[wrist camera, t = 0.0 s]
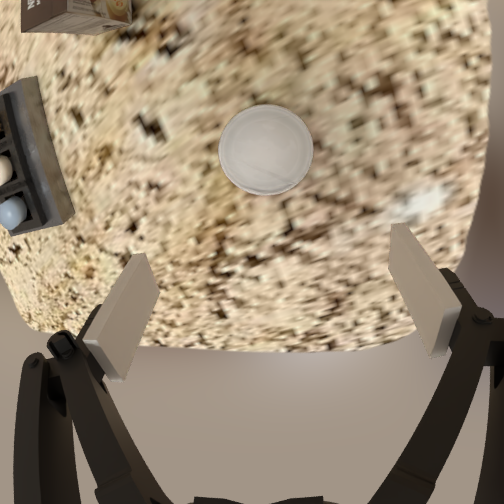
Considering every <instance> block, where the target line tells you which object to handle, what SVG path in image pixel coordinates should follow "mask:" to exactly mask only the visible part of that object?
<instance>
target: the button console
mask: <svg viewBox="0 0 504 504" xmlns="http://www.w3.org/2000/svg"><path fill="white" fill-rule="evenodd" d="M0 116H1V120H2V124H3V128H4V132H5V136H6V137H4V138H3V139H1V140H0V155H1V153H3V152H4V151H6V150H8V149H9V151H10V154H11V157H12V161H13V164H14V167H15V170H16V173H17V176H18V177H17V178H15V179H12V180H10V181H7V182H6V183H4V184H3V185H1V186H0V205H1V204H2V203H4V202H5V201H6V200H8V199H9V198H11V197H12V196H14V193H17V192H20V191H23V194H24V197H25V199H26V202H27V205H28V207H29V210H30V213H31V216H28V217H26V219H25V220H24V221H22V222H21V223H20V224H19V225H18V226H16V227H15V228H14V229H12V230H8V231H9V234H10V236H11V237H12V236H16V235H20V234H24V233H28V232H32V231H36V230H40V229H44V228H49V227H53V226H57V225H62V224H64V223H65V222H66V221H67V220H68V219H69V218H70V217H72V216H73V215H74V214H75V211H74V208H73V206H72V203H71V200H70V197H69V194H68V191H67V189H66V186H65V183H64V180H63V177H62V173H61V170H60V167H59V164H58V161H57V157H56V154H55V151H54V147H53V144H52V140H51V136H50V133H49V129H48V125H47V121H46V117H45V113H44V109H43V104H42V100H41V95H40V91H39V86H38V81H37V76H35V77H29V78H23V79H20V80H18V81H17V82H15V83H13V84H12V85H10V86H9V87H7V88H6V89H4V90H2V91H1V92H0Z"/></svg>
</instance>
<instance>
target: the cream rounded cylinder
mask: <svg viewBox="0 0 504 504" xmlns="http://www.w3.org/2000/svg"><path fill="white" fill-rule="evenodd" d="M14 170H15V167H14V164H13V161H12V157H9V158H7V157H6V156H4V155H0V186H1V185H3V184H4V183H6V182H7V181H9V180H10V179H11V177H12V172H13V171H14Z"/></svg>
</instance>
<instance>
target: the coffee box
mask: <svg viewBox="0 0 504 504" xmlns="http://www.w3.org/2000/svg"><path fill="white" fill-rule="evenodd" d="M131 24H132V9H131V0H21V33H25V32H41V33H69V34H85V35H97V34H100V33H103V32H107V31H110V30H113V29H117V28H120V27H124V26H127V25H131Z"/></svg>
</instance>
